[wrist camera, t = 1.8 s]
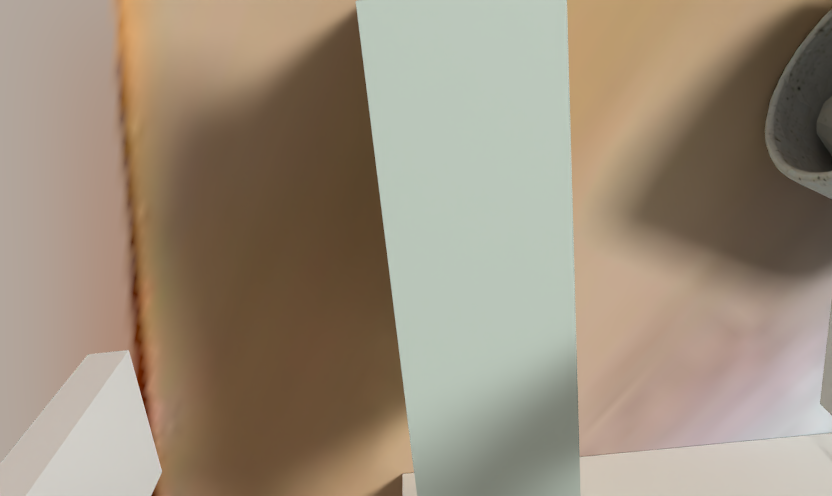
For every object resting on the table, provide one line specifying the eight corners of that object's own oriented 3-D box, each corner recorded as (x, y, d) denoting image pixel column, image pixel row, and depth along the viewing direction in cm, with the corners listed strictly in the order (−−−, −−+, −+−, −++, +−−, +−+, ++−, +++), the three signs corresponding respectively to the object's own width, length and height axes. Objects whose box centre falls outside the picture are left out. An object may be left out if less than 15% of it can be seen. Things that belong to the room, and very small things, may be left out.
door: (486, -124, 24) (560, -219, 13) (518, 407, 31) (584, 651, 20) (365, -111, 24) (331, -192, 13) (425, 415, 31) (438, 664, 20)
